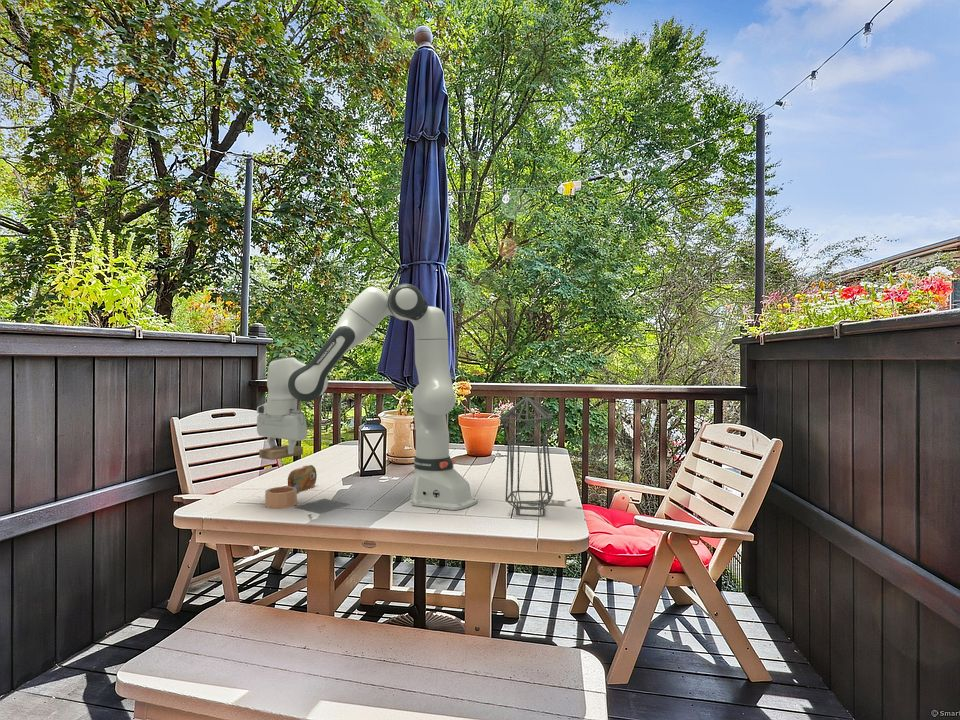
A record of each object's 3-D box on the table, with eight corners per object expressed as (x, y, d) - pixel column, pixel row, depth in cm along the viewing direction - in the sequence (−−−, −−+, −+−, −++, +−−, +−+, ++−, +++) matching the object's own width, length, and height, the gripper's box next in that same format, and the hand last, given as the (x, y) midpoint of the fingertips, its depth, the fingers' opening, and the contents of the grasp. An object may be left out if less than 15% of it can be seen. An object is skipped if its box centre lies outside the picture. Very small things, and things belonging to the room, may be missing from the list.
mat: (350, 505, 156) (350, 504, 156) (320, 515, 146) (320, 513, 146) (324, 500, 163) (324, 498, 163) (293, 509, 153) (293, 507, 153)
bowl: (302, 504, 157) (302, 488, 157) (277, 511, 150) (277, 495, 150) (284, 500, 162) (284, 485, 162) (259, 507, 154) (259, 491, 154)
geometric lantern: (553, 522, 142) (551, 399, 142) (499, 519, 145) (496, 399, 145) (557, 506, 157) (555, 395, 157) (508, 503, 160) (505, 395, 160)
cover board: (302, 454, 159) (302, 446, 159) (272, 460, 149) (272, 451, 150) (289, 452, 162) (289, 444, 162) (259, 457, 153) (259, 449, 153)
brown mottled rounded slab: (294, 496, 167) (294, 471, 167) (285, 496, 168) (285, 471, 168) (317, 486, 182) (317, 463, 182) (309, 485, 182) (309, 462, 182)
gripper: (312, 409, 153) (311, 454, 153) (270, 406, 164) (270, 448, 164) (295, 411, 148) (294, 457, 148) (253, 407, 159) (252, 450, 158)
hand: (281, 452), depth 156 cm, fingers closed on cover board, 6 cm apart
